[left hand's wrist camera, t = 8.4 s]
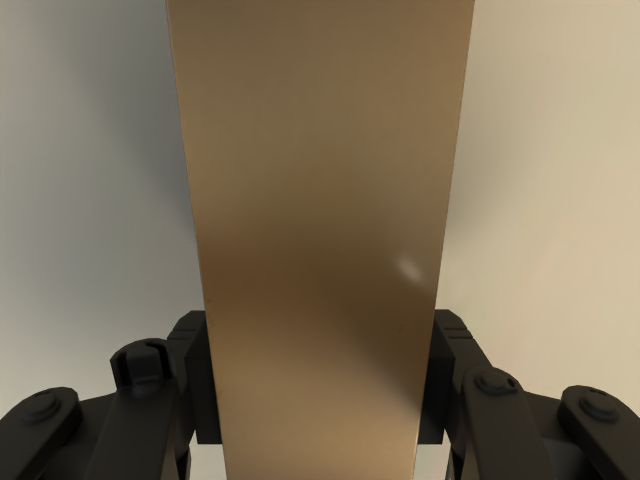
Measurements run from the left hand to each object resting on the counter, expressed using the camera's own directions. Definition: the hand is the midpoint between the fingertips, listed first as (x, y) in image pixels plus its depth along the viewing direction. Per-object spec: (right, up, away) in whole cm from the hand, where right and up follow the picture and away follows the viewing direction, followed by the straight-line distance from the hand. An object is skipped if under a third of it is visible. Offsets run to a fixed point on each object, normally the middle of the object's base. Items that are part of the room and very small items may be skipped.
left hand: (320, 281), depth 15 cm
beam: (0, +22, -8) cm, 23 cm away
